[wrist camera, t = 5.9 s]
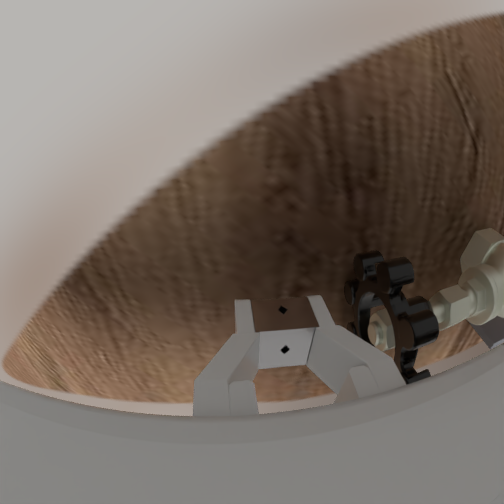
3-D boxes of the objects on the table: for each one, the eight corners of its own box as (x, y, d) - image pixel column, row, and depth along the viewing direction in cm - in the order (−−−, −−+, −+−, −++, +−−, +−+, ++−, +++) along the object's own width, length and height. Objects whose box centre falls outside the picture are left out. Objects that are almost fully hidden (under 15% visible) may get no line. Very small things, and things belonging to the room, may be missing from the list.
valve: (502, 201, 11) (346, 223, 11) (575, 251, 6) (442, 333, 5) (480, 286, 14) (339, 333, 14) (532, 343, 9) (383, 435, 8)
